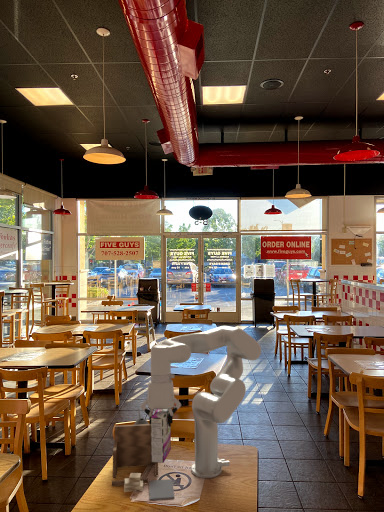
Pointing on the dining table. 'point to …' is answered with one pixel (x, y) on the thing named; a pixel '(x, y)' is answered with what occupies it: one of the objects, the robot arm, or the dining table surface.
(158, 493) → the mat
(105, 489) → the dining table surface
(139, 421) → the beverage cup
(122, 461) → the stand
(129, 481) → the offcut stack
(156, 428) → the candy bar box
